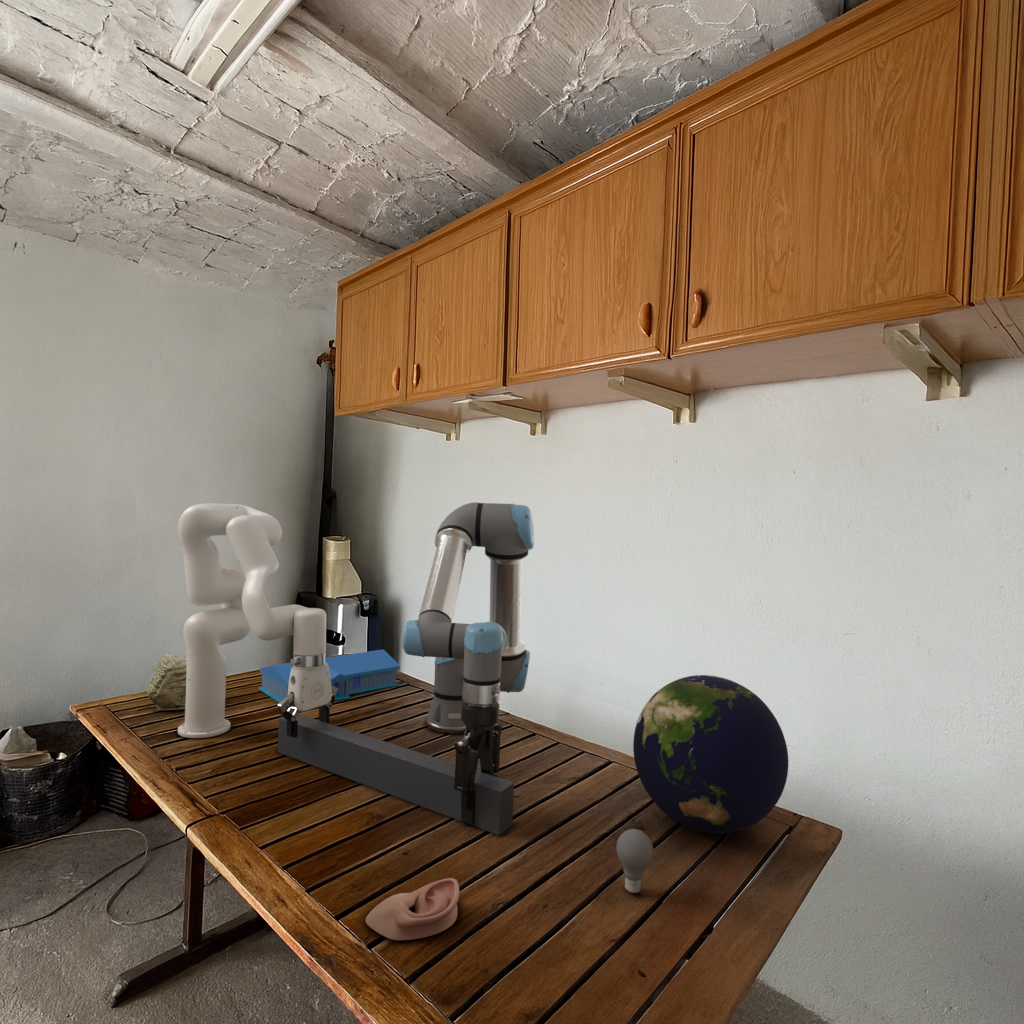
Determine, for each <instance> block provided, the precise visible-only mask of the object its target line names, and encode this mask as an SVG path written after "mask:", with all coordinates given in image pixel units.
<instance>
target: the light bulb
mask: <svg viewBox="0 0 1024 1024" xmlns="http://www.w3.org/2000/svg"><path fill="white" fill-rule="evenodd" d="M615 849H616V854H617V857H618V859H619V861H620V863H621V865H622V867H623V873H624V874H623V875H624V876H625V878H624V888H625V890H627V891H628V892H630V893H634V894H635V893H639V892H640V891H641V889H642V887H641V886H642V879H643V877H644V875H645V871H646V868H647V867H648V866H649V864H650V863H651V861H652V859H653V855H654V847H653V843H652V841H651V838H649V836H648V835H647V834H646V833H645V832H643V831H642V830H641V829H636V828H629V829H627V830H625V831H623V832H622V833H621V834H620V835H619V837H618V839H617V841H616V847H615Z"/></svg>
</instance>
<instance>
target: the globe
mask: <svg viewBox="0 0 1024 1024" xmlns="http://www.w3.org/2000/svg"><path fill="white" fill-rule="evenodd" d="M632 742H633V743H632V744H633V747H632V750H633V759H634V764H635V768H636V771H637V775H638V778H639V780H640V783H641V784H642V786H643V787H644V790H645V791H646V794H648V796H649V798H650V799H651V800H652V802H653V803H654V804H655V805H656V806H657V808H658V809H660V810H661V811H662V812H663V813H664V814H665V815H667V816H668V817H669V818H670V819H672V820H674V821H675V822H676V823H678V824H680V825H682V826H684V827H686V828H689V829H691V830H694V831H698V832H701V833H705V834H714V835H723V834H731V833H732V834H733V833H737V832H740V831H744V830H746V829H748V828H750V827H753V826H754V825H756V824H758V823H759V822H760V821H762V820H763V819H764V818H765V817H766V816H768V815H769V813H771V811H772V810H773V809H774V807H775V806H776V805H777V804H778V802H779V800H780V798H781V797H782V794H783V792H784V790H785V787H786V785H787V784H786V783H787V779H788V775H789V752H788V746H787V742H786V738H785V734H784V732H783V729H782V728H781V725H780V723H779V722H778V719H777V718H776V717H775V715H774V713H773V712H772V710H771V709H770V708H769V706H768V705H767V704H766V703H765V702H764V701H763V700H762V699H761V698H760V697H759V696H758V695H757V694H756V693H754V692H753V691H751V689H748V688H747V687H746V686H744V685H742V684H740V683H738V682H736V681H733V680H732V679H728V678H725V677H720V676H719V675H718V676H717V675H711V674H699V675H696V674H695V675H689V676H685V677H681V678H677V679H675V680H673V681H671V682H669V683H667V684H666V685H664V686H662V687H661V688H659V689H658V690H657V691H656V692H655V693H653V695H652V696H651V697H650V698H649V699H648V701H646V703H645V704H644V706H643V708H642V710H641V712H640V713H639V715H638V717H637V720H636V724H635V727H634V733H633V741H632Z"/></svg>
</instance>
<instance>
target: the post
mask: <svg viewBox="0 0 1024 1024" xmlns="http://www.w3.org/2000/svg"><path fill="white" fill-rule="evenodd" d="M296 720H297V721H298V736H297V737H296V738H293V737H290V736H287V732H286V722H287V720H286V719H284V717H283V716H281V717H278V735H277V737H278V739H277V742H278V743H277V753H279V754H281V755H284V756H287V757H289V758H292V759H295V760H298V761H300V762H303V763H305V764H308V765H311V766H313V767H316V768H319V769H321V770H324V771H327V772H329V773H332V774H335V775H337V776H340V777H342V778H345V779H348V780H351V781H354V782H356V783H358V784H361V785H364V786H367V787H369V788H372V789H375V790H377V791H379V792H383V793H385V794H387V795H390V796H393V797H396V798H398V799H401V800H403V801H406V802H409V803H412V804H415V805H417V806H419V807H423V808H425V809H428V810H430V811H433V812H436V813H438V814H441V815H444V816H445V817H449V818H452V819H454V820H457V821H459V822H462V821H461V808H462V807H461V794H462V792H460V791H457V790H455V789H454V784H455V764H456V763H454V762H451V761H447V760H444V759H441V758H437V757H434V756H431V755H428V754H425V753H422V752H419V751H416V750H412V749H410V748H407V747H405V746H404V747H403V746H400V745H398V744H394V743H391V742H387V741H385V740H382V739H378V738H375V737H373V736H370V735H366V734H363V733H360V732H356V731H353V730H350V729H347V728H344V727H341V726H338V725H335V724H332V723H330V722H329V723H326V722H322V721H319V719H317V718H316V719H315V718H314V717H313V718H312V717H309V716H307V715H303V714H300V713H299V714H298V716H297V718H296ZM473 790H474V791H476V795H475V819H474V824H473V825H472V826H473V827H475V828H478V829H481V830H482V831H485V832H489V833H492V834H494V835H497V836H500V835H502V834H503V833H504V832H506V830H508V829H509V828H510V827H511V826H513V815H514V797H515V796H514V794H515V793H514V791H515V782H513V781H510V780H507V779H505V778H500V777H498V776H497V777H494V776H491V775H488V774H485V773H482V772H481V771H479V770H476V776H475V782H474V787H473Z"/></svg>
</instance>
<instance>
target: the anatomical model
mask: <svg viewBox="0 0 1024 1024" xmlns="http://www.w3.org/2000/svg"><path fill="white" fill-rule="evenodd" d="M459 898H460V885H459V882H458V880H457V879H455V878H453V877H448V878H442V879H438V880H436V881H433V882H430V883H428V884H426V885H424V886H422V887H419V888H417V889H416V890H413V891H412V892H400V893H397V894H396V893H395V894H393V895H391V896H389V897H387V898H385V899H384V900H382V901H381V902H380V903H378V904H377V905H376V906H375V907H373V908H372V909H371V910H370V912H369V913H368V914H367V915H366V917H365V923H366V925H367V926H368V927H369V928H370V929H371V930H373V931H374V932H376V933H377V934H378V935H380V936H383V937H384V938H387V939H389V940H391V941H399V942H400V941H409V940H416V939H422V938H428V937H431V936H435V935H438V934H440V933H442V932H444V931H446V930H447V929H449V928H451V927H452V926H453V925H454V924H455V922H456V920H457V917H458V909H459V908H458V902H459Z"/></svg>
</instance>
